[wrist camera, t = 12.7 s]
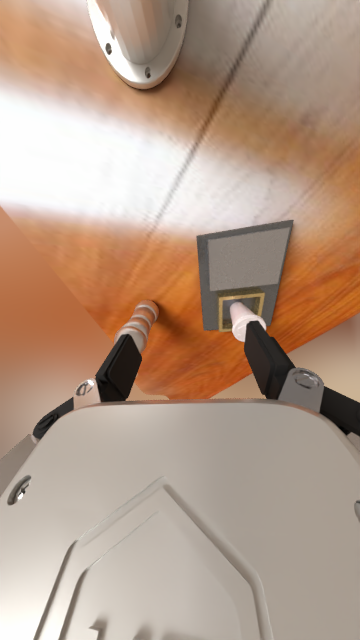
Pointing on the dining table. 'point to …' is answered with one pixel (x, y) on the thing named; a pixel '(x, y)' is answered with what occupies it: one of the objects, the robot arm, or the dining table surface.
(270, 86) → the dining table surface
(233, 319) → the smoothie
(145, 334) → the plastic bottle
